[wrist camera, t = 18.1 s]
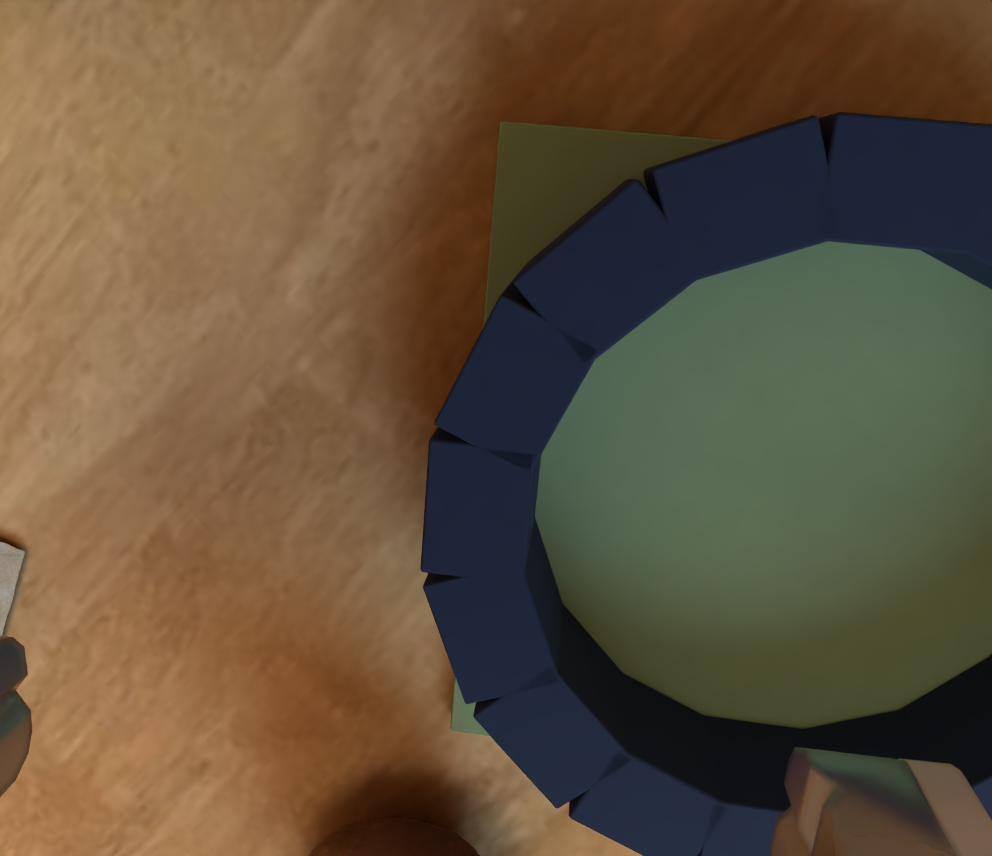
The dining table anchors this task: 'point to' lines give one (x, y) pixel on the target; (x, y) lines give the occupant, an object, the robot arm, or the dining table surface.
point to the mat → (764, 462)
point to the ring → (540, 407)
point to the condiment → (8, 578)
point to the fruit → (393, 840)
